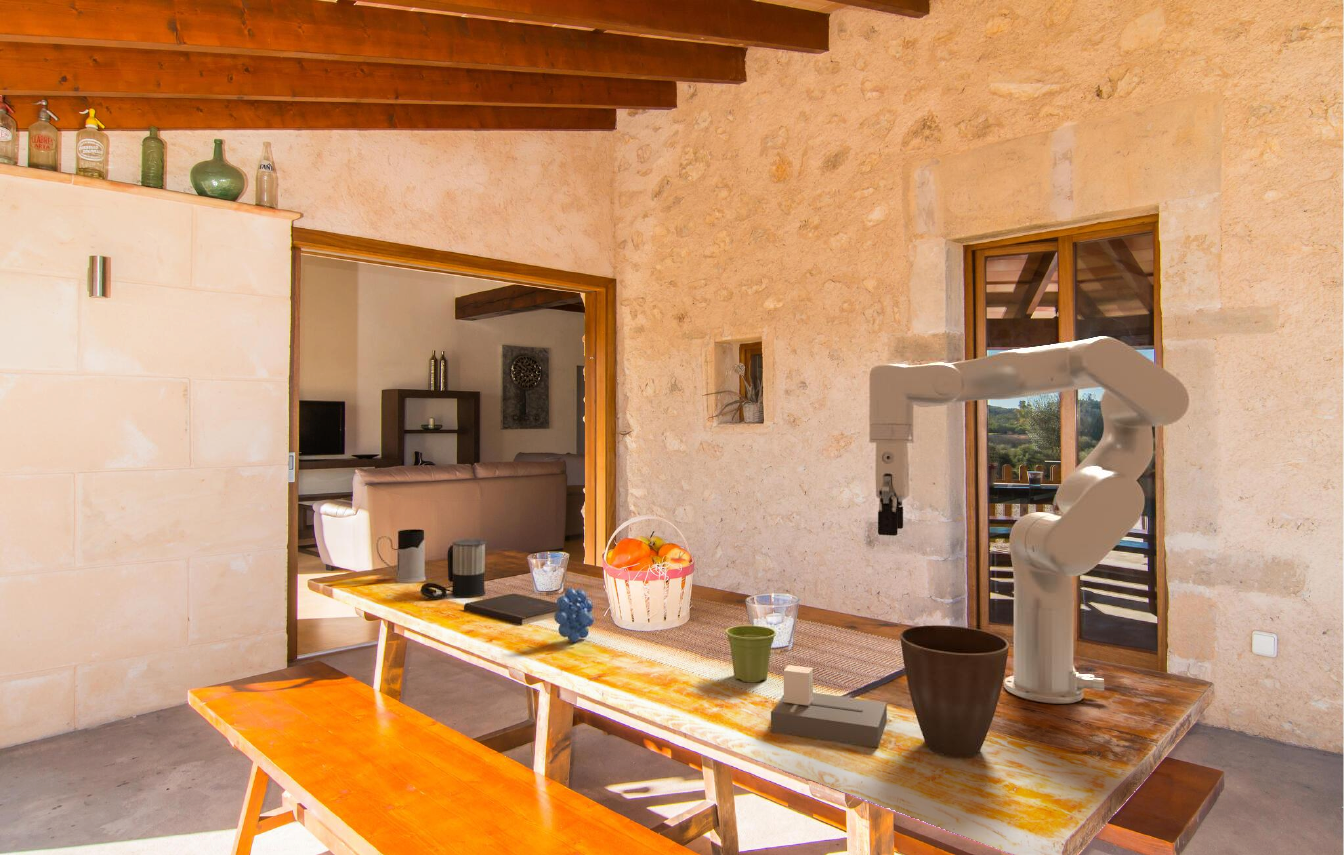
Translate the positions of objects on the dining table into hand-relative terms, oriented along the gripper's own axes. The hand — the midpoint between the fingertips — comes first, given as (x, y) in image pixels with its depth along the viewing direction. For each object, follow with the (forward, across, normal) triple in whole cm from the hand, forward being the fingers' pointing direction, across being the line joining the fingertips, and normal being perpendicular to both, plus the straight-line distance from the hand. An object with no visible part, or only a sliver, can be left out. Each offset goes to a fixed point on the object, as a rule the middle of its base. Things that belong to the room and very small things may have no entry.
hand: (890, 531), depth 136 cm
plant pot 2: (+28, -21, -11) cm, 37 cm away
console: (+28, -20, +7) cm, 35 cm away
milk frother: (+29, +34, +120) cm, 128 cm away
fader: (+25, -20, +12) cm, 34 cm away
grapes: (+28, +6, +66) cm, 72 cm away
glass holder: (+28, +45, +148) cm, 157 cm away
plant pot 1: (+28, -2, +25) cm, 38 cm away
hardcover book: (+29, +25, +94) cm, 101 cm away
